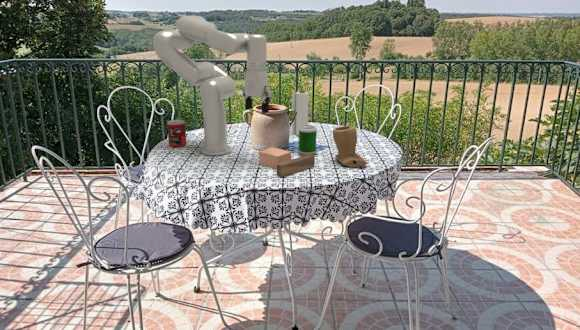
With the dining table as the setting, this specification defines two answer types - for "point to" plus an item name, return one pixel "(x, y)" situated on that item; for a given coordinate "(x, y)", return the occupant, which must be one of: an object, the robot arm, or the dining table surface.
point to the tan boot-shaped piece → (347, 146)
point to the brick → (273, 157)
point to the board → (295, 165)
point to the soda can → (307, 139)
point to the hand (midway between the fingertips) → (257, 110)
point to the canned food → (176, 133)
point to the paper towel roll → (300, 110)
